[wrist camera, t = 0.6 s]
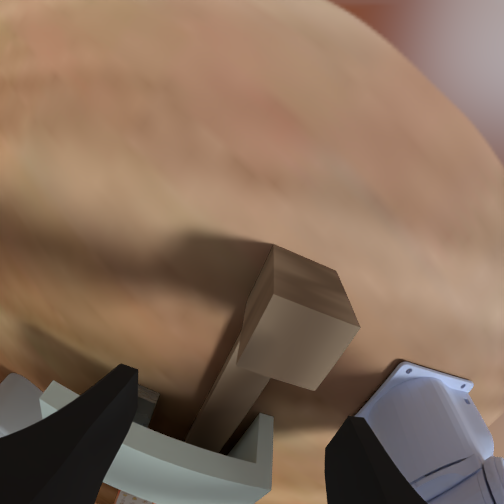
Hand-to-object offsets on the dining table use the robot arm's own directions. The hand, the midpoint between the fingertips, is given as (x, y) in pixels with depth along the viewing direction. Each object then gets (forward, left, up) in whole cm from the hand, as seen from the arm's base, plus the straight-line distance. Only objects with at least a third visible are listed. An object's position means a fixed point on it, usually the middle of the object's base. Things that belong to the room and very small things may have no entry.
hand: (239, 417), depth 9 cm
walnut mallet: (-2, +7, -10) cm, 12 cm away
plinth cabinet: (+2, +15, -10) cm, 18 cm away
